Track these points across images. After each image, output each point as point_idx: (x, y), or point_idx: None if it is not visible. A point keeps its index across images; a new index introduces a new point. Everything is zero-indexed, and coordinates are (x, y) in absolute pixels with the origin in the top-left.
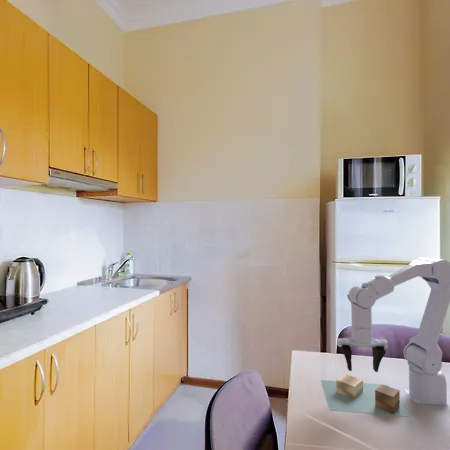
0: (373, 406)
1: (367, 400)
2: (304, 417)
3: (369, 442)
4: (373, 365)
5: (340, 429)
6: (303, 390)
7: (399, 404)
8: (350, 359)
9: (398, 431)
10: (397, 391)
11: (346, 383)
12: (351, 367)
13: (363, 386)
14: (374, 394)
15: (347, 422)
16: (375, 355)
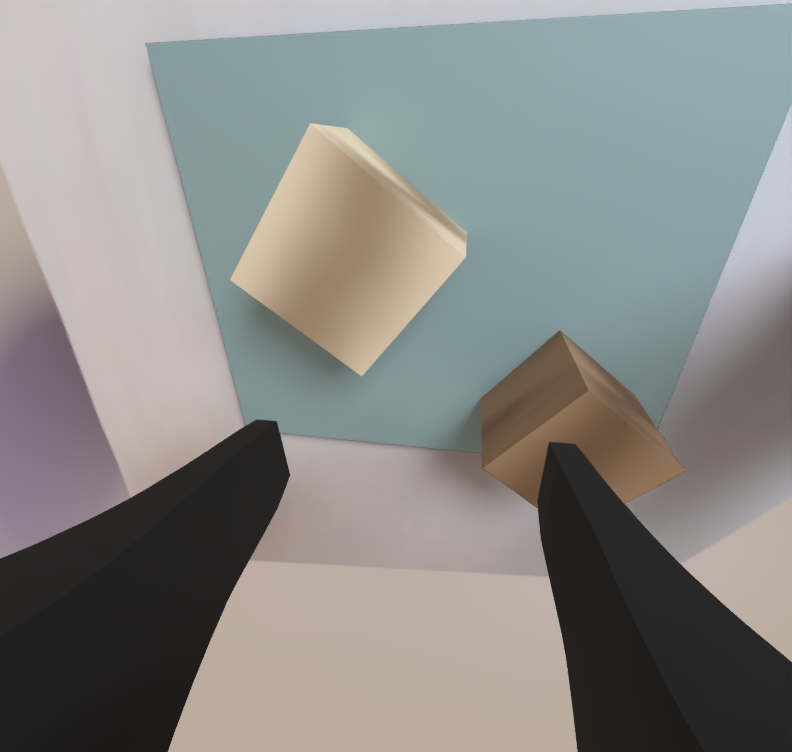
0: (472, 393)
1: (460, 335)
2: (160, 454)
3: (377, 558)
4: (556, 485)
5: (291, 509)
6: (83, 227)
7: (641, 406)
8: (209, 618)
9: (510, 523)
10: (653, 485)
11: (307, 333)
12: (271, 512)
13: (511, 113)
14: (547, 253)
15: (320, 479)
16: (594, 729)
